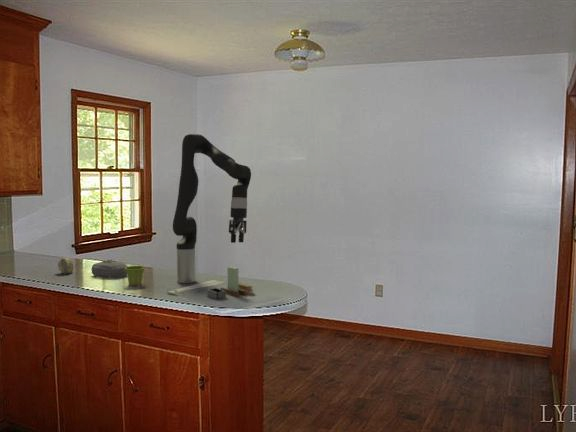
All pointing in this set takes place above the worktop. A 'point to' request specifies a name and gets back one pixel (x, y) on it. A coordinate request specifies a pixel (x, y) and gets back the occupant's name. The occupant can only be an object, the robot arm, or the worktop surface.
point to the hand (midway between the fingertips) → (237, 242)
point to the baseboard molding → (196, 286)
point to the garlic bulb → (65, 265)
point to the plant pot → (135, 274)
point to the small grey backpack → (109, 269)
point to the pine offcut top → (244, 286)
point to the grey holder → (216, 293)
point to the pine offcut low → (248, 292)
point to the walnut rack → (235, 293)
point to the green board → (233, 279)
